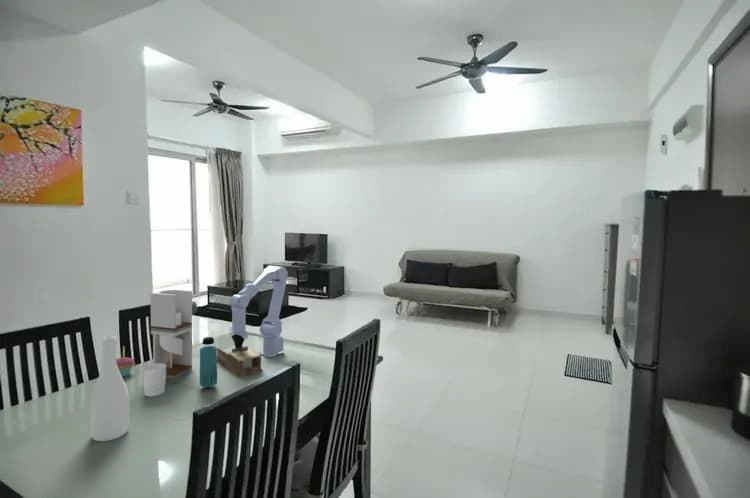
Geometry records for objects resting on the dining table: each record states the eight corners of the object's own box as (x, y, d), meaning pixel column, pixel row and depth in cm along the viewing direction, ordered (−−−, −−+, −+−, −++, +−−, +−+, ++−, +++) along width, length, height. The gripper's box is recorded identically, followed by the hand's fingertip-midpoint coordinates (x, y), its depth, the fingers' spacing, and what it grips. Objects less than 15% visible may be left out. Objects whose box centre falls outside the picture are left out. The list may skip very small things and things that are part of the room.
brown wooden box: (238, 356, 190) (238, 343, 190) (262, 370, 173) (262, 356, 172) (215, 361, 183) (215, 347, 182) (238, 377, 165) (238, 362, 165)
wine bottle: (122, 422, 126) (121, 331, 124) (133, 433, 120) (132, 337, 118) (87, 434, 118) (85, 337, 116) (97, 446, 112) (95, 344, 110)
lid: (249, 349, 180) (249, 345, 180) (261, 356, 172) (261, 351, 172) (228, 354, 173) (228, 349, 173) (239, 361, 165) (239, 356, 165)
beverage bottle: (210, 391, 150) (211, 340, 149) (195, 389, 151) (195, 339, 150) (220, 385, 157) (221, 336, 155) (206, 383, 158) (206, 334, 157)
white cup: (171, 389, 152) (170, 364, 151) (157, 398, 144) (157, 371, 143) (151, 387, 152) (151, 362, 152) (137, 396, 144) (137, 370, 144)
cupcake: (113, 372, 166) (112, 344, 165) (136, 369, 170) (136, 342, 169) (109, 379, 158) (108, 350, 158) (133, 377, 162) (133, 348, 161)
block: (247, 365, 176) (247, 354, 176) (252, 368, 173) (252, 357, 173) (237, 367, 173) (237, 356, 173) (242, 370, 170) (242, 359, 170)
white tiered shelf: (151, 375, 164) (150, 293, 162) (170, 366, 174) (169, 289, 172) (174, 378, 161) (173, 295, 159) (191, 369, 172) (192, 290, 169)
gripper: (223, 319, 179) (223, 348, 180) (237, 325, 168) (237, 356, 169) (238, 316, 184) (238, 345, 184) (252, 323, 173) (252, 353, 174)
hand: (238, 350), depth 177 cm, fingers closed
